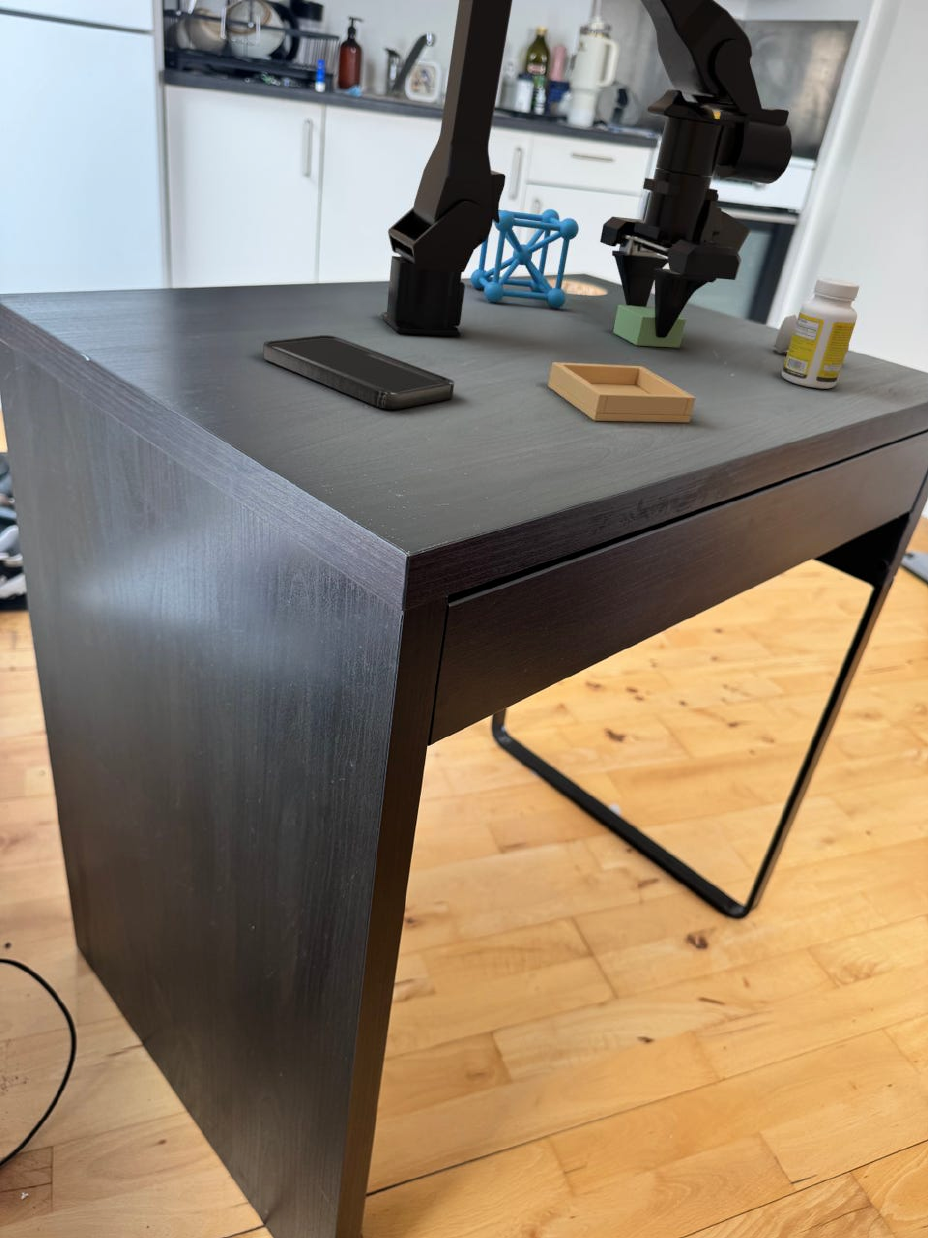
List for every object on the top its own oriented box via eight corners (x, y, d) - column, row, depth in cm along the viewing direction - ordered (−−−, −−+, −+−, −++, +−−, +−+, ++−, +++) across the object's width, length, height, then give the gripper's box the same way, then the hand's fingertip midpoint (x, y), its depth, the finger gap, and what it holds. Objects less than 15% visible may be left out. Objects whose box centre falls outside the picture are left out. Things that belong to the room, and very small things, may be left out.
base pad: (594, 420, 71) (599, 394, 70) (547, 386, 78) (552, 361, 77) (689, 422, 75) (696, 397, 74) (636, 389, 82) (642, 365, 80)
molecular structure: (566, 311, 109) (583, 220, 104) (485, 303, 106) (498, 209, 102) (543, 293, 117) (557, 208, 112) (467, 285, 115) (479, 198, 110)
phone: (388, 395, 66) (257, 341, 73) (387, 411, 66) (257, 355, 74) (461, 382, 71) (331, 333, 79) (459, 397, 72) (331, 346, 79)
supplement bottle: (833, 381, 95) (866, 283, 90) (834, 393, 90) (869, 290, 86) (780, 370, 96) (810, 272, 91) (779, 381, 92) (810, 279, 87)
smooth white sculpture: (842, 374, 104) (838, 366, 100) (773, 355, 108) (766, 347, 103) (857, 336, 103) (854, 327, 99) (787, 318, 107) (781, 308, 102)
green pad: (636, 345, 97) (642, 316, 96) (612, 332, 102) (618, 304, 100) (679, 347, 99) (686, 319, 98) (654, 334, 104) (660, 307, 102)
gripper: (806, 194, 88) (759, 357, 95) (700, 171, 103) (666, 314, 110) (709, 181, 84) (667, 352, 91) (613, 159, 99) (584, 308, 106)
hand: (647, 330), depth 100 cm, fingers closed on green pad, 5 cm apart
